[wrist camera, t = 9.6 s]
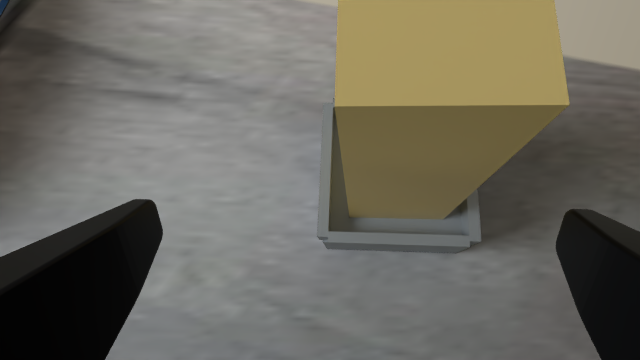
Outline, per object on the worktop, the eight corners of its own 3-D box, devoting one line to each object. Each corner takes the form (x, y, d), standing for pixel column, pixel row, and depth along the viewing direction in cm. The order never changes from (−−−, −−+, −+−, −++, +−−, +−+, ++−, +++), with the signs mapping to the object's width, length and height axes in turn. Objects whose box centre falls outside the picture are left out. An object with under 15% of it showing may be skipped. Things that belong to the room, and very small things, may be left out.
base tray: (458, 256, 21) (481, 247, 17) (324, 251, 22) (316, 242, 18) (452, 131, 23) (471, 97, 19) (329, 131, 24) (323, 98, 20)
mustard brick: (442, 219, 19) (569, 104, 8) (349, 217, 19) (334, 106, 8) (439, 133, 20) (542, -79, 9) (351, 133, 21) (340, -69, 9)
